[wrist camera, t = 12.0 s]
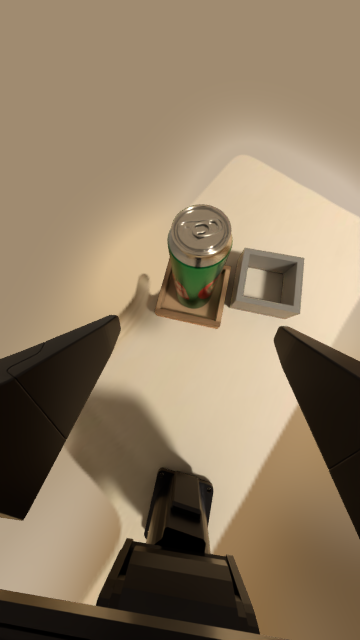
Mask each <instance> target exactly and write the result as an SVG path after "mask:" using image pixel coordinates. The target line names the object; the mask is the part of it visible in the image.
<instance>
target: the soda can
mask: <svg viewBox="0 0 360 640" xmlns="http://www.w3.org/2000/svg"><path fill="white" fill-rule="evenodd" d="M232 242H233V240H232V234H231V224H230V221H229V219H228V217H227V216H226V215H225V214H224V213H223V212H222V211H221V210H219V209H218V208H216V207H213V206H210V205H203V204H202V205H193V206H190V207H187V208H185V209H184V210H182V211H181V212H180V213H178V214H177V216H176V217H175V219H174V220H173V223H172V226H171V229H170V231H169V234H168V249H169V255H170V261H171V267H172V273H173V279H174V285H175V291H176V296H177V299H178V301H179V302H180V303H181V304H182V305H183V306H185V307H187V308H191V309H197V308H201V307H203V306H204V305H206V304H207V303H208V302H209V300H210V298H211V296H212V293H213V291H214V289H215V286H216V284H217V282H218V279H219V277H220V274H221V272H222V270H223V267H224V265H225V263H226V260H227V258H228V255H229V253H230V251H231V248H232Z"/></svg>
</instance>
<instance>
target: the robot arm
mask: <svg viewBox="0 0 360 640" xmlns="http://www.w3.org/2000/svg"><path fill="white" fill-rule="evenodd" d="M120 331H121V327H120V322H119V318H118V316H117V315H109V316H106V317H104V318H102V319H99V320H97V321H94V322H92V323H89V324H87V325H85V326H82V327H80V328H77V329H75V330H73V331H70V332H68V333H65V334H63V335H60V336H58V337H55V338H53V339H51V340H48V341H46V342H43V343H41V344H38V345H36V346H33V347H31V348H28V349H26V350H23V351H21V352H18V353H16V354H13V355H10V356H7V357H5V358H2V359H0V517H1V518H8V519H15V520H21V521H22V520H24V518H25V516H26V515H27V513H28V511H29V510H30V508H31V506H32V504H33V502H34V500H35V498H36V496H37V494H38V493H39V491H40V489H41V487H42V485H43V483H44V481H45V479H46V477H47V476H48V474H49V472H50V470H51V468H52V466H53V464H54V462H55V460H56V458H57V457H58V455H59V452H60V451H61V449H62V447H63V445H64V443H65V441H66V439H67V437H68V435H69V434H70V432H71V430H72V428H73V426H74V424H75V422H76V420H77V418H78V416H79V415H80V413H81V411H82V409H83V407H84V405H85V403H86V401H87V399H88V397H89V396H90V394H91V392H92V390H93V388H94V386H95V384H96V382H97V380H98V379H99V377H100V375H101V373H102V371H103V369H104V367H105V365H106V363H107V361H108V360H109V358H110V356H111V354H112V351H113V349H114V346H115V344H116V341H117V339H118V336H119V334H120ZM274 344H275V347H276V350H277V353H278V357H279V360H280V363H281V365H282V368H283V370H284V373H285V375H286V377H287V379H288V381H289V384H290V386H291V388H292V390H293V392H294V395H295V397H296V399H297V401H298V404H299V406H300V408H301V410H302V412H303V415H304V417H305V419H306V421H307V423H308V425H309V427H310V430H311V432H312V434H313V437H314V439H315V441H316V443H317V445H318V448H319V450H320V452H321V454H322V456H323V459H324V461H325V463H326V465H327V467H328V469H329V472H330V474H331V477H332V479H333V481H334V483H335V485H336V487H337V490H338V492H339V494H340V497H341V499H342V501H343V503H344V505H345V508H346V510H347V512H348V514H349V516H350V518H351V520H352V523H353V525H354V527H355V530H356V532H357V534H358V536H359V539H360V361H358V360H356V359H354V358H352V357H349V356H347V355H345V354H343V353H341V352H339V351H337V350H335V349H333V348H331V347H329V346H327V345H325V344H323V343H321V342H319V341H317V340H315V339H313V338H311V337H309V336H307V335H305V334H303V333H301V332H299V331H296V330H294V329H292V328H290V327H287V326H280V327H279V328H278V330H277V333H276V335H275V337H274ZM160 473H163V474H164V475H161V474H160ZM207 488H211V489H210V490H207ZM212 497H213V486H212V484H211V483H210V482H207V481H204V480H201V479H198V478H197V477H195V476H191V475H188V474H185V473H182V472H179V471H176V472H175V471H172V470H169V469H165V468H160V469H159V471H158V474H157V479H156V483H155V488H154V492H153V497H152V501H151V506H150V510H149V514H148V519H147V523H146V528H145V532H144V536H145V538H146V539H147V541H146V543H141V542H135V541H133V539H130V538H127V539H126V541H125V543H124V545H123V548H122V549H121V550H120V552H119V554H118V556H117V558H116V560H115V562H114V565H113V567H112V569H111V571H110V573H109V575H108V577H107V579H106V582H105V584H104V586H103V588H102V590H101V592H100V594H99V597H98V600H97V603H96V606H93V605H87V604H82V603H76V602H70V601H64V600H59V599H53V598H47V597H41V596H35V595H30V594H24V593H19V592H13V591H7V590H2V589H0V640H287V639H282V638H276V637H270V636H264V635H260V632H259V628H258V624H257V620H256V616H255V613H254V610H253V607H252V604H251V601H250V599H249V596H248V593H247V591H246V588H245V586H244V583H243V580H242V578H241V575H240V573H239V570H238V568H237V565H236V562H235V560H234V557H233V556H232V555H226V557H225V556H219V555H213V554H211V553H210V545H209V536H208V522H209V516H210V510H211V503H212ZM148 531H149V532H148Z"/></svg>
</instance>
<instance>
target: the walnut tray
mask: <svg viewBox="0 0 360 640" xmlns="http://www.w3.org/2000/svg"><path fill="white" fill-rule="evenodd" d="M230 269H231V266H227V265H224V267H223V270H222V272H221V274H220V277H219V279H218V282H217V284H216V286H215V289H214V291H213V293H212V296H211V298H210V300H209V302H208V303H207V304H206V305H204V306H203V307H201V308H197V309H191V308H187V307H185V306H183V305H182V304H181V303H180V302H179V301H178V299H177V296H176V291H175V285H174V279H173V273H172V267H171V261H170V258H169V262H168V266H167V269H166V273H165V276H164V280H163V283H162V287H161V290H160V294H159V298H158V301H157V305H156V308H155V313H156V315H157V316H161V317H166V318H170V319H175V320H179V321H184V322H188V323H192V324H197V325H201V326H206V327H210V328H215V329H217V328H219V327H220V323H221V317H222V312H223V307H224V301H225V296H226V291H227V285H228V280H229V274H230Z"/></svg>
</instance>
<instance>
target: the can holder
mask: <svg viewBox="0 0 360 640" xmlns="http://www.w3.org/2000/svg"><path fill="white" fill-rule="evenodd" d="M248 267H250V268H255V269H260V270H266V271H271V272H277V273H282V274H284V277H283V286H282V296H281V303H276V302H271V301H266V300H261V299H256V298H251V297H246V296H243V294H244V288H245V281H246V275H247V269H248ZM303 268H304V258H301V257H295V256H290V255H284V254H278V253H272V252H266V251H261V250H255V249H249V248H244V250H243V252H242V254H241V256H240V258H239V259H238V263H237V268H236V274H235V279H234V285H233V291H232V296H231V302H230V308H234V309H239V310H244V311H248V312H253V313H258V314H263V315H267V316H272V317H277V318H282V319H287V318H289V317H292V316H295V315H298V314H300V307H301V294H302V281H303Z"/></svg>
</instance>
